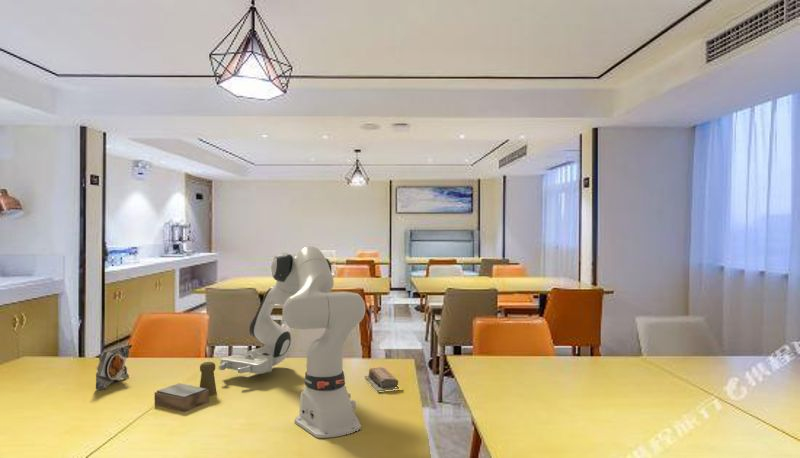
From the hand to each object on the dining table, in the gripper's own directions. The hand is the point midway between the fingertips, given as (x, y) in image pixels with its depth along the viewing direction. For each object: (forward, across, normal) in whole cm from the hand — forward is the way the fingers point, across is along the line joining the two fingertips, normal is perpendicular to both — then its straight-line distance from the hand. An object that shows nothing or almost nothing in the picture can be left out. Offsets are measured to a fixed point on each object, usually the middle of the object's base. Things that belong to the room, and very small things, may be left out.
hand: (229, 369), depth 187 cm
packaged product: (-27, +51, +7) cm, 58 cm away
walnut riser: (+21, 0, +6) cm, 22 cm away
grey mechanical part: (+18, -40, +6) cm, 44 cm away
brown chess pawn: (+10, 0, +6) cm, 12 cm away
